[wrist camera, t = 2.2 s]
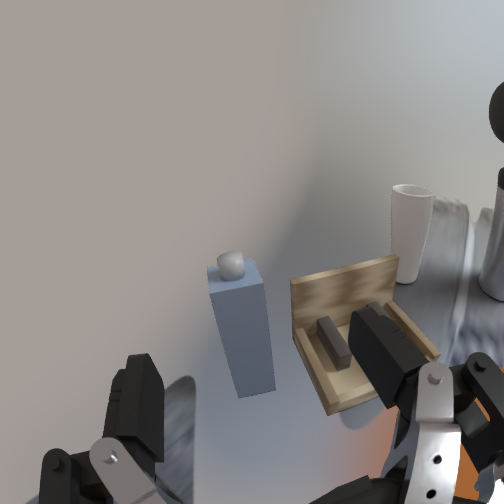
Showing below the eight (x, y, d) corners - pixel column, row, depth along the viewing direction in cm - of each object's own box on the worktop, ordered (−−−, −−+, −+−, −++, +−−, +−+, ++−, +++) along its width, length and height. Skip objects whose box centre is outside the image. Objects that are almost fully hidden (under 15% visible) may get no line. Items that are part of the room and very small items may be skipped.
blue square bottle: (267, 363, 30) (250, 242, 23) (275, 390, 26) (261, 264, 19) (233, 371, 29) (203, 251, 22) (238, 398, 26) (205, 275, 19)
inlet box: (385, 310, 34) (394, 253, 30) (434, 367, 24) (460, 307, 20) (292, 338, 33) (289, 279, 29) (327, 416, 22) (337, 361, 18)
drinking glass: (399, 262, 44) (407, 182, 38) (427, 277, 39) (441, 192, 32) (376, 275, 42) (383, 187, 35) (406, 293, 37) (420, 199, 30)
